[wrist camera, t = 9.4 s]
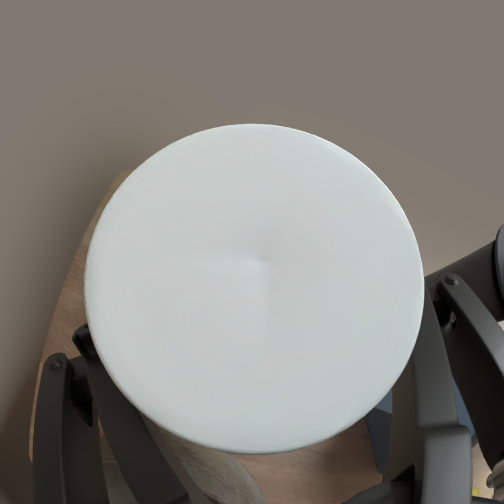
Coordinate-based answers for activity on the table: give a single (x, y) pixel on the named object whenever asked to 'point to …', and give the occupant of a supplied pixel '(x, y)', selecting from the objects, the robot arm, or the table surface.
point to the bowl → (191, 474)
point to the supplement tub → (253, 289)
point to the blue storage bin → (382, 420)
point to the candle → (475, 491)
